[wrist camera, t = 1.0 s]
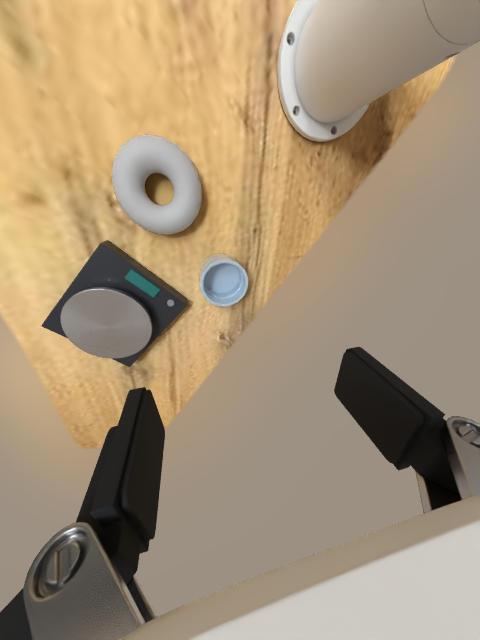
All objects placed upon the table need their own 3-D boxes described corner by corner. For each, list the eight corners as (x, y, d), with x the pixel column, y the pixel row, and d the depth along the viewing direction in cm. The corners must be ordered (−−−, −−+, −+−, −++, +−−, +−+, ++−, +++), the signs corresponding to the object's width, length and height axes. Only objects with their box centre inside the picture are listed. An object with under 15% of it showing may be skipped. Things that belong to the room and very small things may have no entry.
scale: (107, 239, 27) (99, 243, 25) (187, 298, 33) (186, 305, 31) (51, 317, 30) (39, 327, 28) (133, 357, 37) (129, 368, 34)
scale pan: (91, 269, 25) (88, 270, 24) (168, 318, 30) (167, 321, 30) (47, 329, 27) (43, 333, 27) (125, 366, 33) (124, 369, 32)
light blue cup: (219, 243, 30) (223, 249, 27) (249, 273, 34) (257, 282, 30) (189, 276, 32) (189, 286, 28) (221, 302, 35) (225, 314, 31)
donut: (166, 248, 29) (217, 195, 27) (164, 253, 26) (220, 195, 24) (98, 184, 24) (154, 114, 22) (86, 182, 21) (148, 101, 20)
